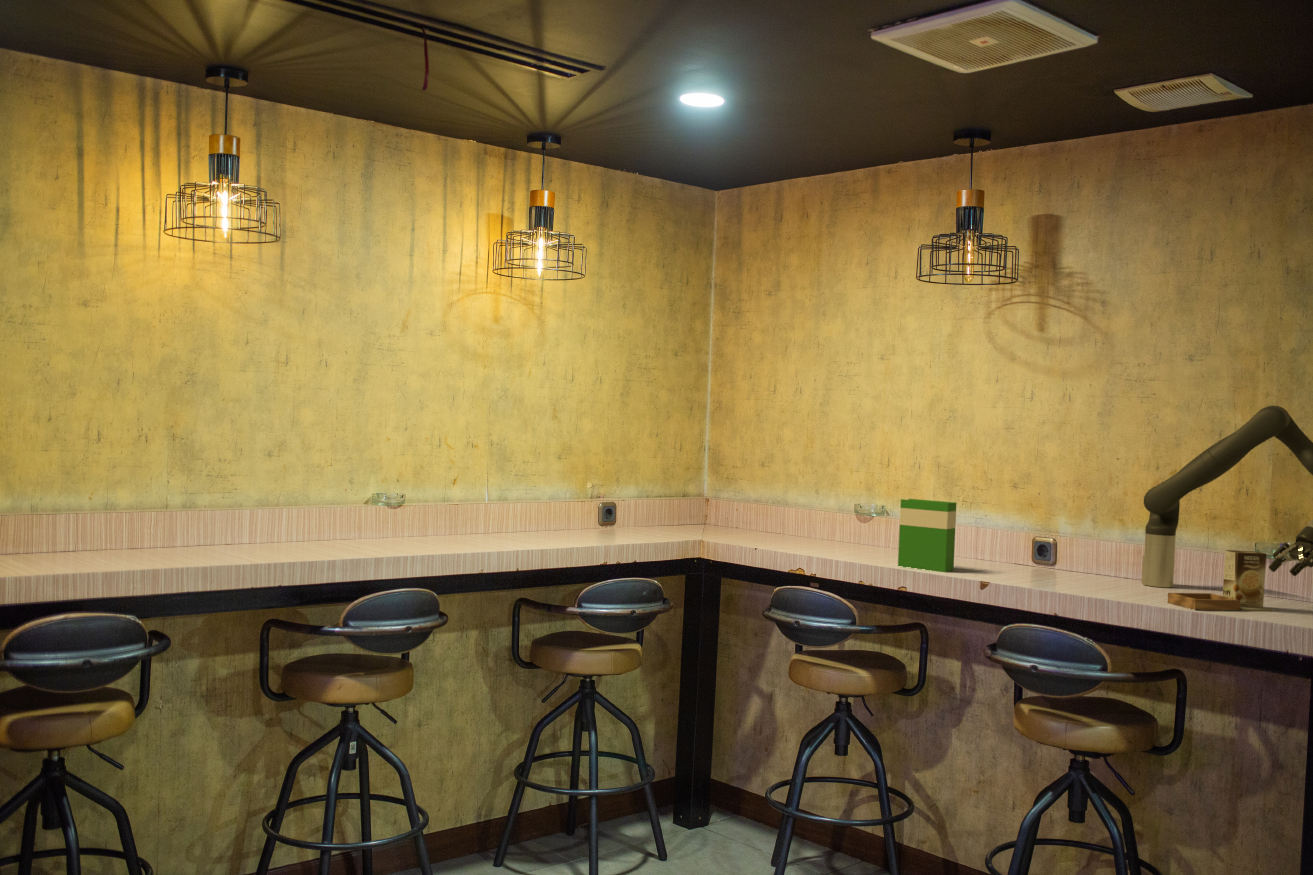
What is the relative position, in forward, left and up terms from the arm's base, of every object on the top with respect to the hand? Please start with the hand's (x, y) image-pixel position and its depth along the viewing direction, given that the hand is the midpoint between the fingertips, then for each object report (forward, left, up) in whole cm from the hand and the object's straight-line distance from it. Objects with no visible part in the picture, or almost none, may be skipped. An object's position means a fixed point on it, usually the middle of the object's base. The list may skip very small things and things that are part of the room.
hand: (1281, 571), depth 321 cm
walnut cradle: (0, -25, -11) cm, 28 cm away
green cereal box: (-73, -81, -11) cm, 109 cm away
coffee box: (0, -12, -10) cm, 16 cm away
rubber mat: (0, -13, -11) cm, 16 cm away
